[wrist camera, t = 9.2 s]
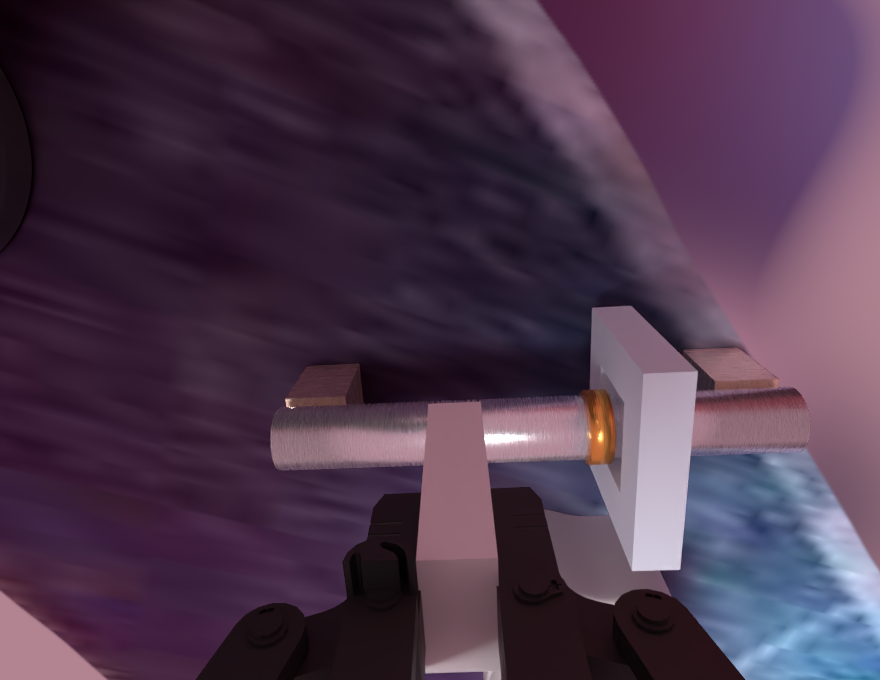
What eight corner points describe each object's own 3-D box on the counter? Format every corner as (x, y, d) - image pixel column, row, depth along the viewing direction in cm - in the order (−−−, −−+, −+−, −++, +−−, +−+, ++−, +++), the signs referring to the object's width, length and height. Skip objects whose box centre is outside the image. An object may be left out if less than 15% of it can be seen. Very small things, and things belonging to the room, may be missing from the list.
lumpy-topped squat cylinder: (660, 519, 37) (719, 630, 28) (619, 679, 41) (660, 815, 33) (492, 503, 37) (502, 609, 28) (469, 664, 41) (472, 797, 33)
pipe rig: (313, 415, 35) (275, 490, 28) (306, 360, 34) (263, 422, 26) (731, 399, 34) (807, 472, 26) (738, 341, 33) (819, 400, 25)
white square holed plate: (587, 460, 34) (632, 571, 25) (592, 307, 31) (643, 373, 22) (623, 459, 33) (680, 569, 25) (631, 305, 31) (698, 371, 22)
